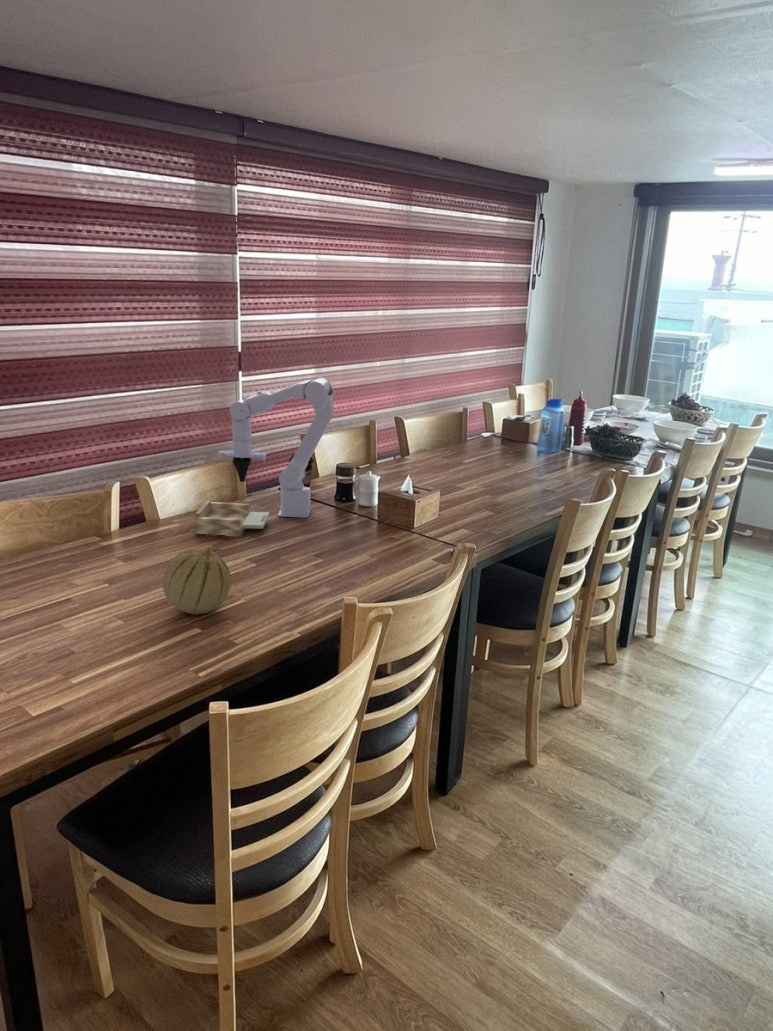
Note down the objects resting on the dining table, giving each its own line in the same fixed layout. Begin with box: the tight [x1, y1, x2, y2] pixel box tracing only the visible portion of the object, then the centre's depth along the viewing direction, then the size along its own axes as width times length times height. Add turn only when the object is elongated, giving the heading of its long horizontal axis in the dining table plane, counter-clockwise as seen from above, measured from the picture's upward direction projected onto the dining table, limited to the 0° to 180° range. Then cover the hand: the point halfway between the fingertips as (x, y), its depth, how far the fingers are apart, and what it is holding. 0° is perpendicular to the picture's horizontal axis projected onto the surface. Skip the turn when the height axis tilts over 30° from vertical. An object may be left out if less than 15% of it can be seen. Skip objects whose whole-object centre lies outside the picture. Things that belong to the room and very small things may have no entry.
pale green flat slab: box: [242, 511, 270, 530], centre depth 216 cm, size 1×12×6 cm
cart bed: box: [194, 499, 251, 537], centre depth 216 cm, size 13×15×6 cm
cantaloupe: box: [162, 546, 232, 615], centre depth 162 cm, size 15×15×15 cm
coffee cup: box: [288, 453, 315, 489], centre depth 251 cm, size 9×8×13 cm
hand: (242, 480), depth 230 cm, fingers closed
